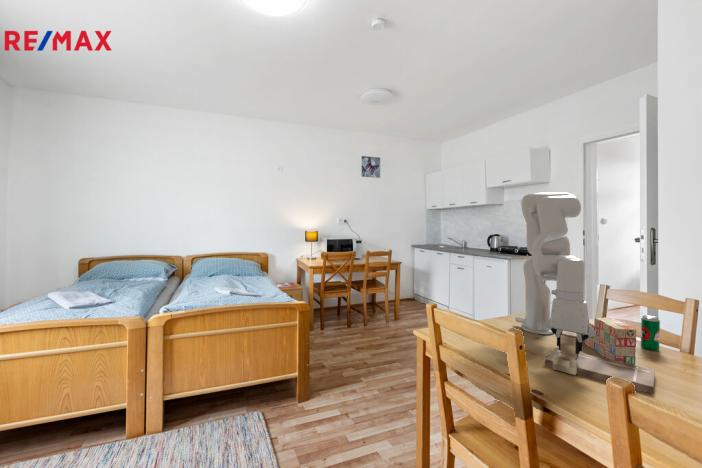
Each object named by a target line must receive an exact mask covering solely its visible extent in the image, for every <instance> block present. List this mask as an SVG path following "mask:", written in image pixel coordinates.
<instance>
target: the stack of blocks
mask: <svg viewBox="0 0 702 468" xmlns="http://www.w3.org/2000/svg"><path fill="white" fill-rule="evenodd" d="M589 324H590V325H591V326H592V328H593V329H594V331H595V332H596V335H595V336H593V337H590V338H587V339H586V340H584V341H582V343H584V344H585V345H586V346H588V347H589V348H591V349H592V350H594V351H595V352H597V353H598V354H599V355H602V356H603V358H604V359H609V360H613V361H617V362H622V363H626V364H631V365H635V366H636V359H637V358H636V348H637V329H636V328H634V327H632V326H630V325H629V324H627V323H625V322H621V321H620V320H618V319H616V318H614V317H613V318H612V317H594V318H589ZM587 333H589V331H587ZM585 334H586V333H585ZM583 335H584V334H583Z"/></svg>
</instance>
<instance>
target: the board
mask: <svg viewBox="0 0 702 468" xmlns="http://www.w3.org/2000/svg"><path fill="white" fill-rule="evenodd" d="M554 355H557V356H561V355H562V354H561V353H560V350H559V347H554V349H553V350H552V351H551V352H550V353H549V355H548V356H546V358H545V366H547V367H551V368H553V356H554ZM575 360H577V373H576V375H580V376H584V377H587V378H588V377H589V378H592V379H595V380H598V381H602V380H603V381H602V382H606V380H607V379H608V378H610V377H612V376H617V377H620V378H623V379H626V380H628V381H631V382H632V383H633V384H634V385H635V389H634V390H637V391H639V392H644V393H647V394H651V395H653V394H654V390H655V381H656V380H655V379H656V369H651V368H648V367H643V366H639V365H636V364H635V365H631V364H626V363H622V362H617V361H613V360H609V359H607V358H605V357H598V356H596V355H590V354H587V353H582V352H580V353H579V354H578V356H577V357H576V359H575Z"/></svg>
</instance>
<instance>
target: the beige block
mask: <svg viewBox="0 0 702 468" xmlns="http://www.w3.org/2000/svg"><path fill="white" fill-rule="evenodd" d="M576 341H577V335H576V333H573V332H568V331H562V334H561V342H560V353H561V354H562V355H561V356H557V355H554V356H553V367H552V370H555V371H558V372H562V373H566V374H569V375H574V376H576V375H577V374H576V373H577V360H575V359H576V357H577V356H578V354H576Z"/></svg>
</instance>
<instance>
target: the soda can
mask: <svg viewBox="0 0 702 468" xmlns="http://www.w3.org/2000/svg"><path fill="white" fill-rule="evenodd" d="M640 321H641V322H640V347H641V349H644V350H647V351H650V352H658V351H659V350H660V343H661V341H660V336H661V335H660V333H661V329H660V328H661V320H660V319H659V317H657V316H654V315H649V314H648V315H642V317H641V319H640Z"/></svg>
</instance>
